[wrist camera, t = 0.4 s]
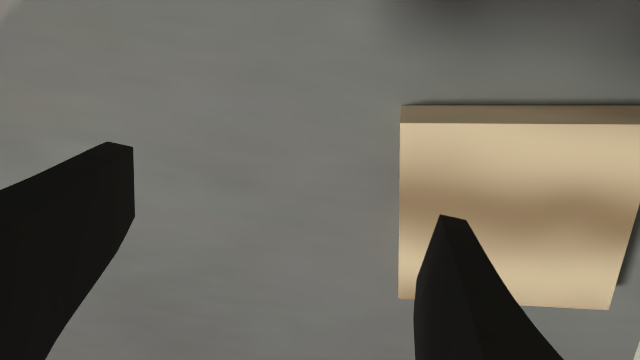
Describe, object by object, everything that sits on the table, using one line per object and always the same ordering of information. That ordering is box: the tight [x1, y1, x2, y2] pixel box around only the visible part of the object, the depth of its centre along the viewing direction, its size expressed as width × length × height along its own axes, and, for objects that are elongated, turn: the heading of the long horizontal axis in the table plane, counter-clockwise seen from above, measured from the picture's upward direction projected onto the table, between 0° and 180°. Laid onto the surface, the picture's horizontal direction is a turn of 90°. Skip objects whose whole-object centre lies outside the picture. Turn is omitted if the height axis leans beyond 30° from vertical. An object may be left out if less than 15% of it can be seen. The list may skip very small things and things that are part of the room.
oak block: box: [398, 105, 640, 310], centre depth 24 cm, size 9×9×2 cm
